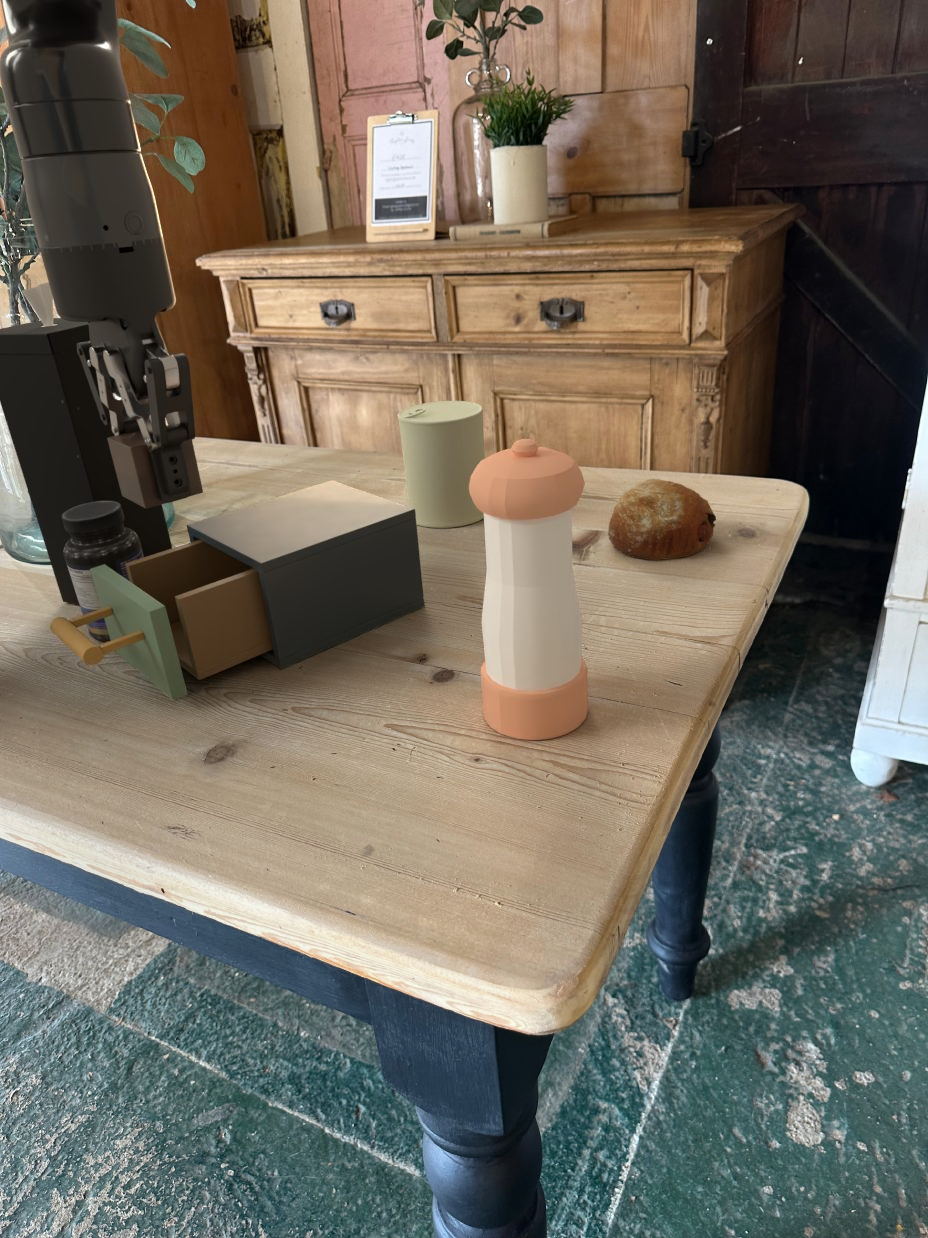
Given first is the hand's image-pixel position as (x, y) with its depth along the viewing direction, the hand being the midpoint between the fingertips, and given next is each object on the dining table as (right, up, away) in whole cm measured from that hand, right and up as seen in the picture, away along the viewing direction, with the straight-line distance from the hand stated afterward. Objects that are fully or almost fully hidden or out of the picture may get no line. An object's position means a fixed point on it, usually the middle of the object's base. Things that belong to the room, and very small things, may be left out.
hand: (161, 490), depth 63 cm
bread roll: (+42, -2, +23) cm, 47 cm away
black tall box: (-11, -7, +21) cm, 25 cm away
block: (0, 0, 0) cm, 0 cm away
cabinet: (+9, -9, +13) cm, 18 cm away
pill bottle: (-8, -10, +14) cm, 19 cm away
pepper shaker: (+27, -16, -3) cm, 31 cm away
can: (+20, +2, +34) cm, 40 cm away
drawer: (0, -12, +6) cm, 14 cm away
